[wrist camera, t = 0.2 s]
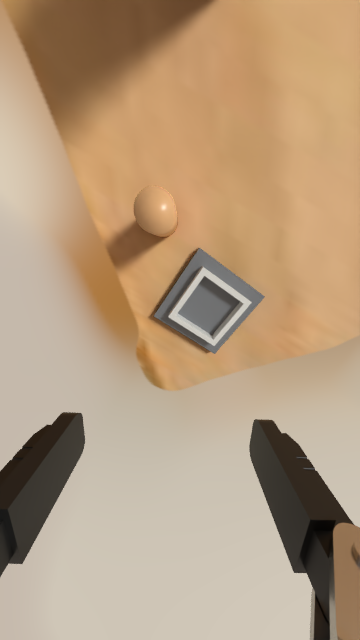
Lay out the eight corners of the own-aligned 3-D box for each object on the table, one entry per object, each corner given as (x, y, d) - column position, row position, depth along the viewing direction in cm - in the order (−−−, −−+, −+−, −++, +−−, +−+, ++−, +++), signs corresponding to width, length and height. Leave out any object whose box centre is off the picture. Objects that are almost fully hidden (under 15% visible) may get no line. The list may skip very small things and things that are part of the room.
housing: (198, 247, 26) (200, 248, 24) (261, 294, 29) (269, 299, 26) (154, 313, 30) (152, 319, 27) (213, 350, 32) (216, 358, 30)
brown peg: (158, 196, 24) (147, 175, 17) (183, 216, 25) (184, 204, 17) (142, 225, 25) (126, 217, 18) (167, 243, 26) (161, 242, 19)
